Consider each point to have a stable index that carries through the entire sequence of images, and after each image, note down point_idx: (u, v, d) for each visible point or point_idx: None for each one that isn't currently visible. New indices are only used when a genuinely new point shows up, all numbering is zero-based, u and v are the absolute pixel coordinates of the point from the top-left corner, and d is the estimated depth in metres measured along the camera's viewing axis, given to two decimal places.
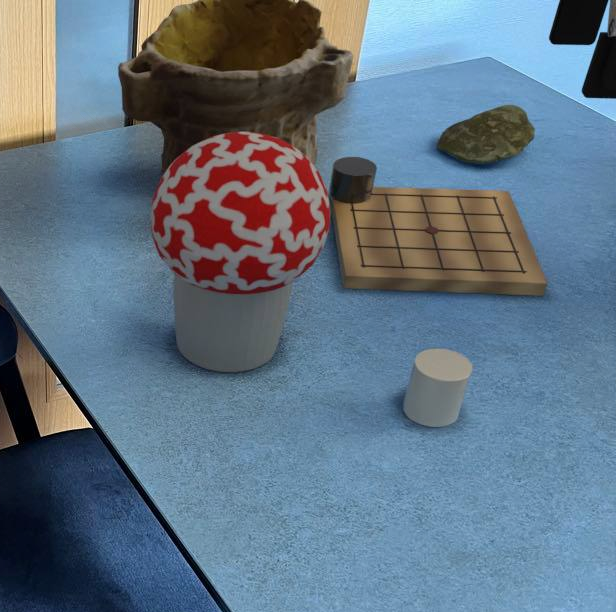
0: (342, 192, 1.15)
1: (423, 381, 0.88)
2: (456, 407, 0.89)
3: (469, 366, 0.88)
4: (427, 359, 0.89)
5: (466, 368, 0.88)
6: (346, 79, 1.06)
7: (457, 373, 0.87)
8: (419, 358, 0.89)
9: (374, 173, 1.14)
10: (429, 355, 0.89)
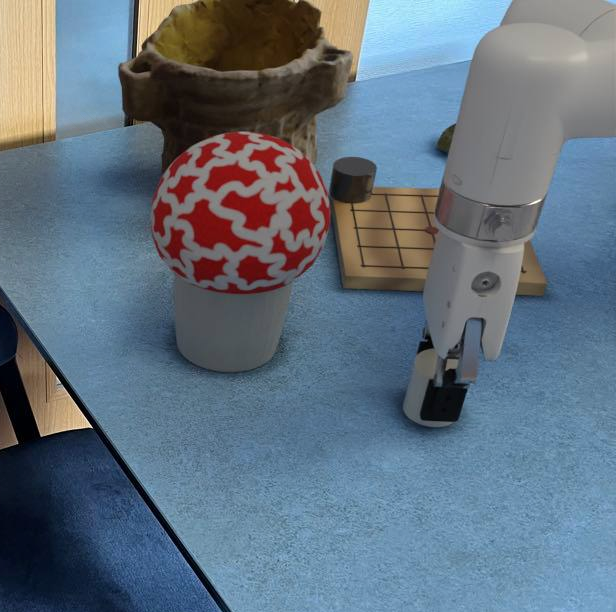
0: (342, 192, 1.15)
1: (422, 381, 0.88)
2: None
3: None
4: (427, 359, 0.89)
5: None
6: (346, 79, 1.06)
7: None
8: (419, 358, 0.89)
9: (374, 173, 1.14)
10: (429, 355, 0.89)
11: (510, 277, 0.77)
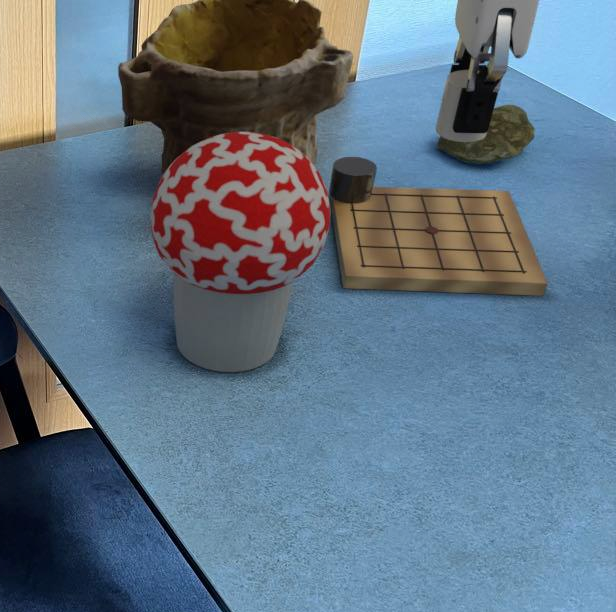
0: (342, 192, 1.15)
1: (455, 93, 0.96)
2: None
3: None
4: (458, 76, 0.97)
5: None
6: (346, 79, 1.06)
7: None
8: (451, 75, 0.97)
9: (374, 173, 1.14)
10: (460, 74, 0.97)
11: None
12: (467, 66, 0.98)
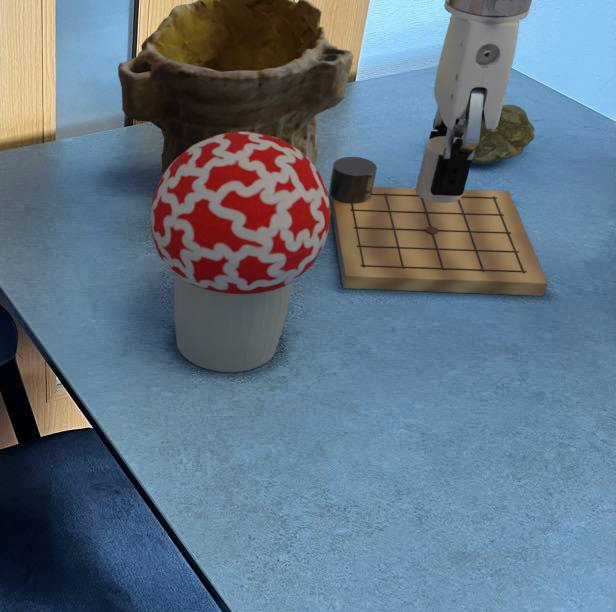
0: (342, 192, 1.15)
1: (433, 159, 1.04)
2: None
3: None
4: (436, 143, 1.05)
5: None
6: (346, 79, 1.06)
7: None
8: (430, 142, 1.05)
9: (374, 173, 1.14)
10: (438, 140, 1.06)
11: (507, 48, 0.93)
12: (445, 133, 1.06)
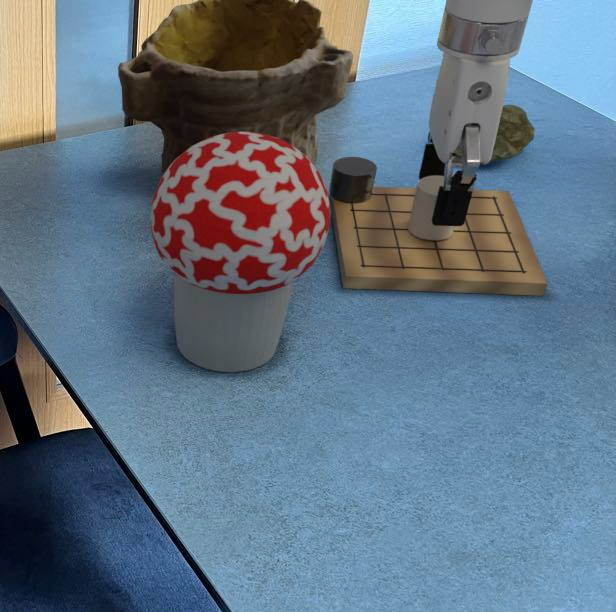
0: (342, 192, 1.15)
1: (424, 199, 1.07)
2: None
3: None
4: (428, 182, 1.08)
5: None
6: (346, 79, 1.06)
7: None
8: (421, 182, 1.08)
9: (374, 173, 1.14)
10: (429, 180, 1.09)
11: (499, 86, 0.96)
12: None
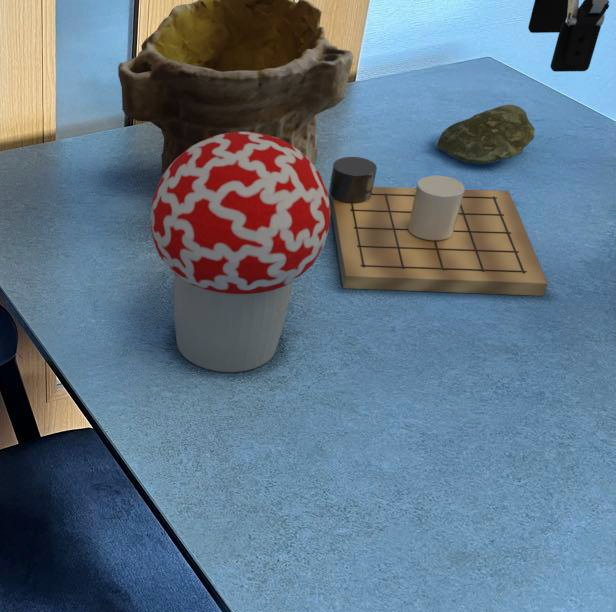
0: (342, 192, 1.15)
1: (424, 199, 1.07)
2: (451, 222, 1.08)
3: (462, 187, 1.07)
4: (428, 182, 1.08)
5: (459, 188, 1.07)
6: (346, 79, 1.06)
7: (452, 191, 1.07)
8: (421, 182, 1.08)
9: (374, 173, 1.14)
10: (429, 180, 1.09)
11: None
12: None
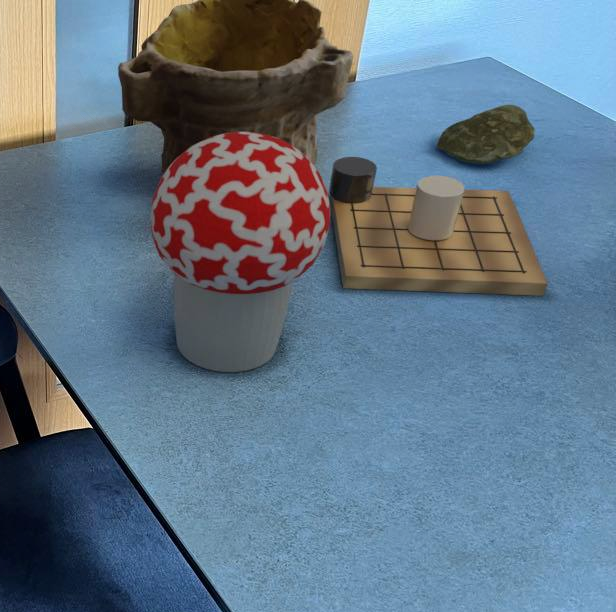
0: (342, 192, 1.15)
1: (424, 199, 1.07)
2: (451, 222, 1.08)
3: (462, 187, 1.07)
4: (428, 182, 1.08)
5: (459, 188, 1.07)
6: (346, 79, 1.06)
7: (452, 191, 1.07)
8: (421, 182, 1.08)
9: (374, 173, 1.14)
10: (429, 180, 1.09)
11: None
12: None
